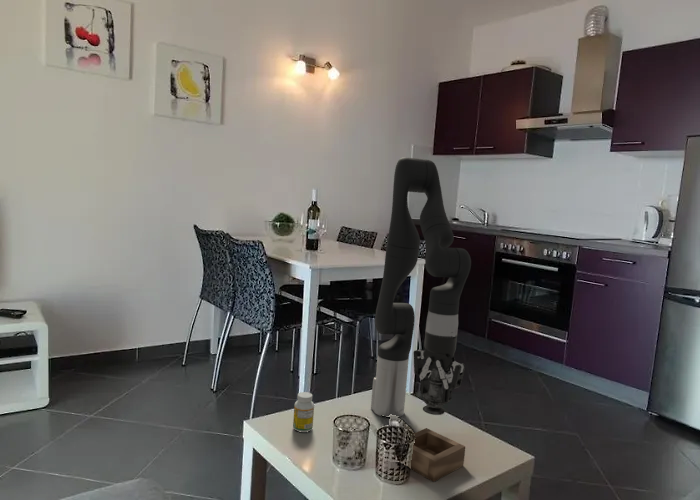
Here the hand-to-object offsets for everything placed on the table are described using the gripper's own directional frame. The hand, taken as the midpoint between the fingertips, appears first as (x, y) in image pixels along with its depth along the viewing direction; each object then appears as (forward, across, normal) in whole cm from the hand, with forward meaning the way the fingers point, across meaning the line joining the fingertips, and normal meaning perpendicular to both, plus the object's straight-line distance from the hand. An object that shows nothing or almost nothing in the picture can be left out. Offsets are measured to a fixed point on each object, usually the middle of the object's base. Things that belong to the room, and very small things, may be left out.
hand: (434, 398), depth 125 cm
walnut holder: (+17, 0, 0) cm, 17 cm away
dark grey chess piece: (+3, 0, 0) cm, 3 cm away
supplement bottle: (+17, -32, -14) cm, 39 cm away
